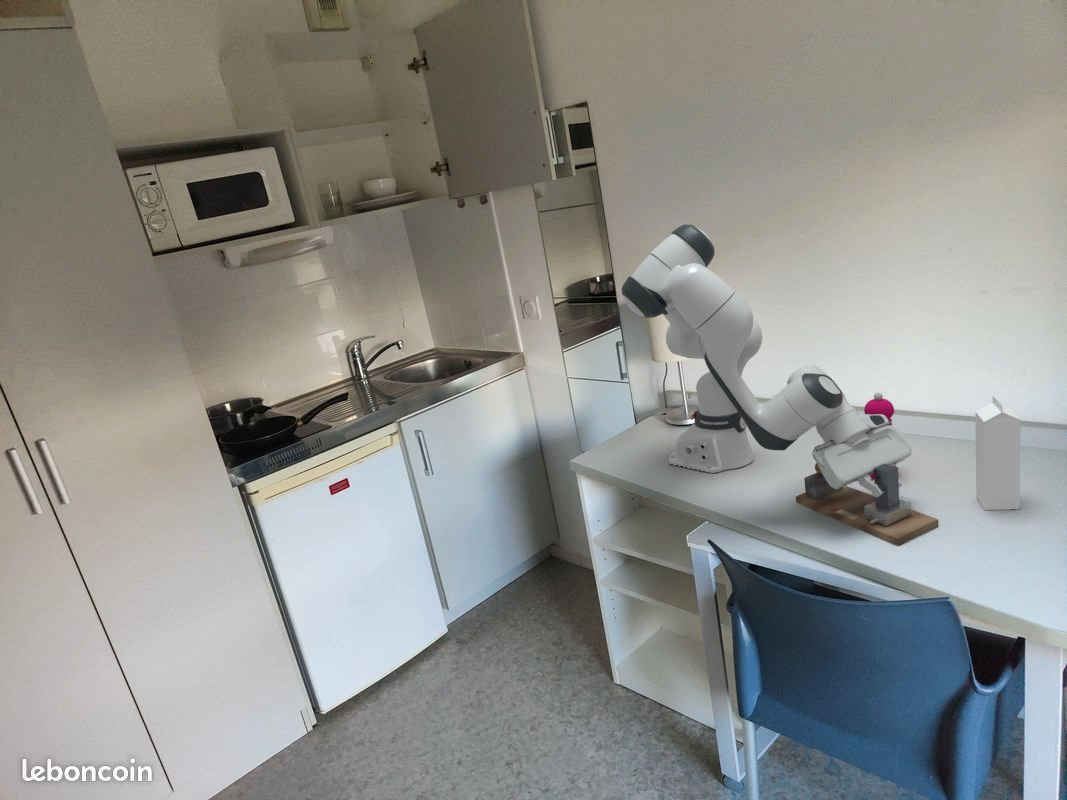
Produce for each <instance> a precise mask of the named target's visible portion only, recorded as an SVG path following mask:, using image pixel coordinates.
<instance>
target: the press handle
mask: <svg viewBox="0 0 1067 800" xmlns="http://www.w3.org/2000/svg"><path fill="white" fill-rule="evenodd" d="M895 466H896V465H895ZM895 466H891V465H888V464H885V463H884V464H882V465H880V466H877V467H875V468H874V479H873V480H874V481H873V482H874V483H875V484H876V485H882V487H883V489H885V491H886V493H885V494H883V495H881V496H879V497H875V502H873V503H870V504H868V505H866V506H864V511H865V518H867V519H870V520H872V521H870V523H871V524H874V523H876V522H877V523H880V524H882V525H885V526H887V525H890V524H892V523H894V522H896V521H898V520H900V519H902V518H904V517H907V516H909V515H911V514H912V511H911V510H912V502H910V501H907V500H904V499H901V498H900V487H899V481H898V479H899V467H898V466H896V467H895Z"/></svg>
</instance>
